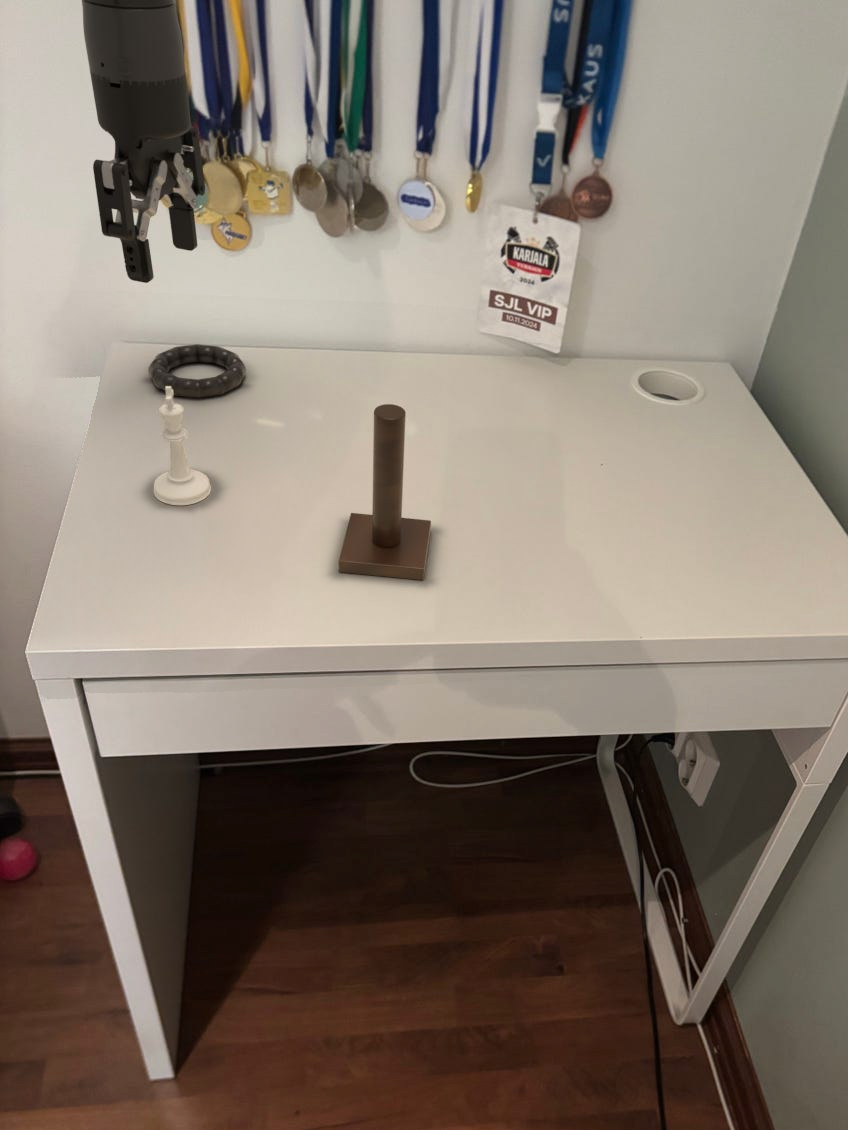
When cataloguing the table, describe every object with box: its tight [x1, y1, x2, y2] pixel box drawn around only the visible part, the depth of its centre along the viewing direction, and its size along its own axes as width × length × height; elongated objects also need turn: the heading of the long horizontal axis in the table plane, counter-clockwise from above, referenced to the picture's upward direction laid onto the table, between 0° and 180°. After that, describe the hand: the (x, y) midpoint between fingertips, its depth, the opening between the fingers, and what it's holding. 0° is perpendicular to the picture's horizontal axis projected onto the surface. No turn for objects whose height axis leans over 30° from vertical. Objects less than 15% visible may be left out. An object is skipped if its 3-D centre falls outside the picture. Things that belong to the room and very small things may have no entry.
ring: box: [148, 343, 247, 399], centre depth 100 cm, size 10×10×2 cm
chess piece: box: [153, 386, 212, 506], centre depth 82 cm, size 5×5×10 cm
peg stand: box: [338, 403, 432, 581], centre depth 77 cm, size 7×7×13 cm
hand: (164, 263), depth 89 cm, fingers open, 8 cm apart
